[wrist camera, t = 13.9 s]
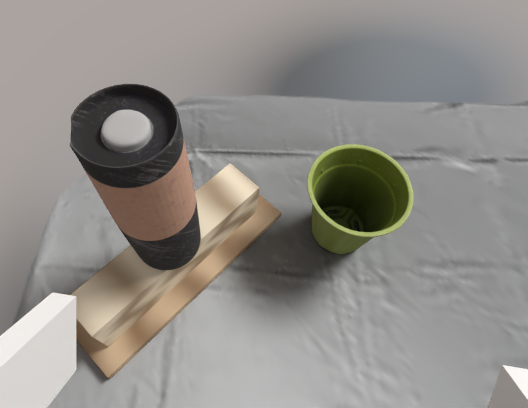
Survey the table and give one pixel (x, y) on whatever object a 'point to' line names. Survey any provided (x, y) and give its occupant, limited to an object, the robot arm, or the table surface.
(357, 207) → the plant pot
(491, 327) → the table surface
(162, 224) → the travel mug
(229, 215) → the ridge
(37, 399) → the robot arm
